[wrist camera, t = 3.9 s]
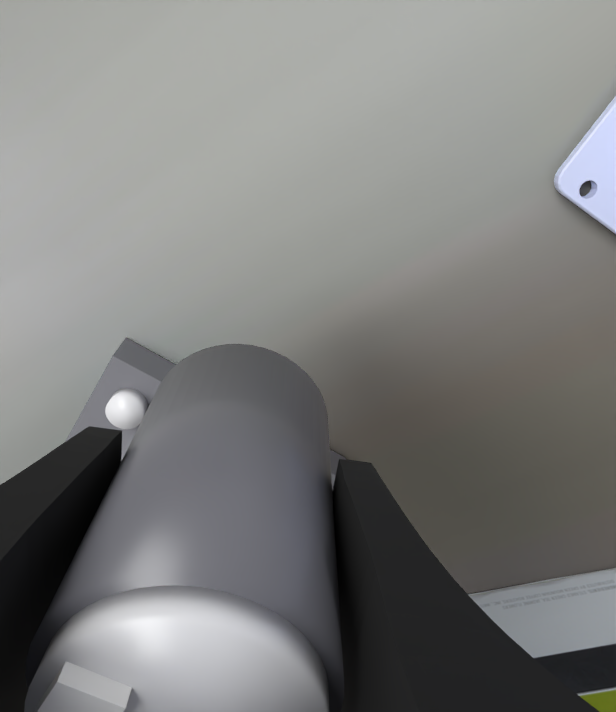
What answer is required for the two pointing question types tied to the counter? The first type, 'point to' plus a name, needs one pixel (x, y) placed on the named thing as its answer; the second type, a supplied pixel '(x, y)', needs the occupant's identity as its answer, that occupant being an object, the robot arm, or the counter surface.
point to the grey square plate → (132, 394)
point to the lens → (206, 556)
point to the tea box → (564, 629)
